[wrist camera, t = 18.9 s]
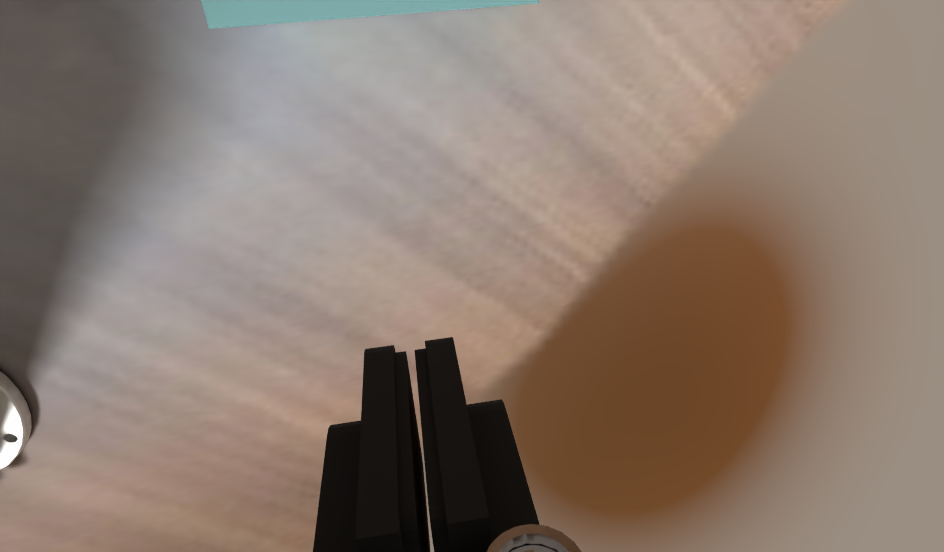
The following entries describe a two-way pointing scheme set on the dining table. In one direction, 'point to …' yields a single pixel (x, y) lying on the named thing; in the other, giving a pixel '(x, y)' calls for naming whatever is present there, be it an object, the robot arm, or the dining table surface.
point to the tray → (327, 9)
